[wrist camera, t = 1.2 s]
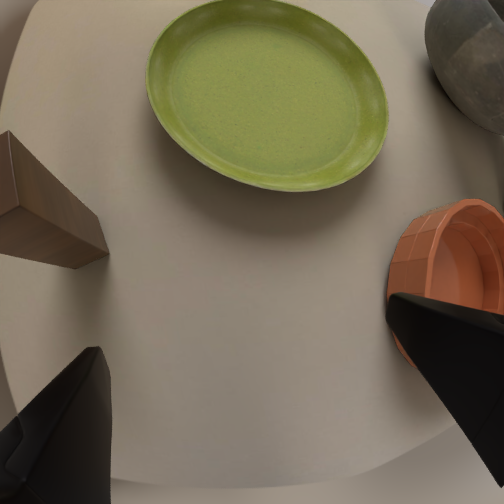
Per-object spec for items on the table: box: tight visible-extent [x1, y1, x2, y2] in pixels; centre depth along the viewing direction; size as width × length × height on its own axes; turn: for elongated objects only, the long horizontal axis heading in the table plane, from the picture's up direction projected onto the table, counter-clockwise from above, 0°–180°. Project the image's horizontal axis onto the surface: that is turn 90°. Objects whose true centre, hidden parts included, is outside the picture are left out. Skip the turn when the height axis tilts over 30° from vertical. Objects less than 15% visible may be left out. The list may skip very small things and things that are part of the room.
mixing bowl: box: [387, 199, 504, 369], centre depth 25 cm, size 16×16×6 cm
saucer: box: [145, 0, 389, 192], centre depth 24 cm, size 21×21×3 cm
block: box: [0, 130, 110, 269], centre depth 14 cm, size 3×3×14 cm
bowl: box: [425, 0, 504, 135], centre depth 25 cm, size 20×20×15 cm
